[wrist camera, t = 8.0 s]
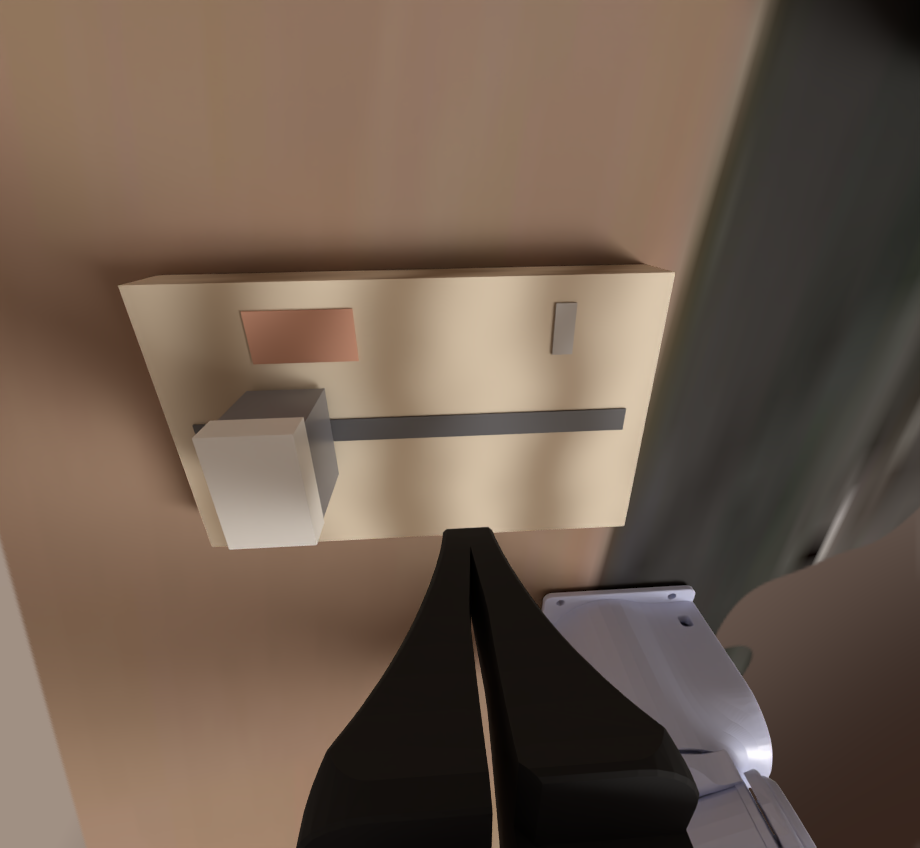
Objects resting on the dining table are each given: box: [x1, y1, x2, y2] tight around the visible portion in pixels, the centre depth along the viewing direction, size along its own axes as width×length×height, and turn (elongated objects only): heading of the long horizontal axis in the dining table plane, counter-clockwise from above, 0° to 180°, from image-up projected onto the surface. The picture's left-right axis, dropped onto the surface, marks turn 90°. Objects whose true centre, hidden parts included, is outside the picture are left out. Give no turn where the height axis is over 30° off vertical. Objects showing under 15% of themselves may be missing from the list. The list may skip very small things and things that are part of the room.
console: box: [118, 264, 675, 547], centre depth 19 cm, size 20×12×3 cm, turn 91°
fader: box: [192, 388, 339, 550], centre depth 16 cm, size 3×4×4 cm
